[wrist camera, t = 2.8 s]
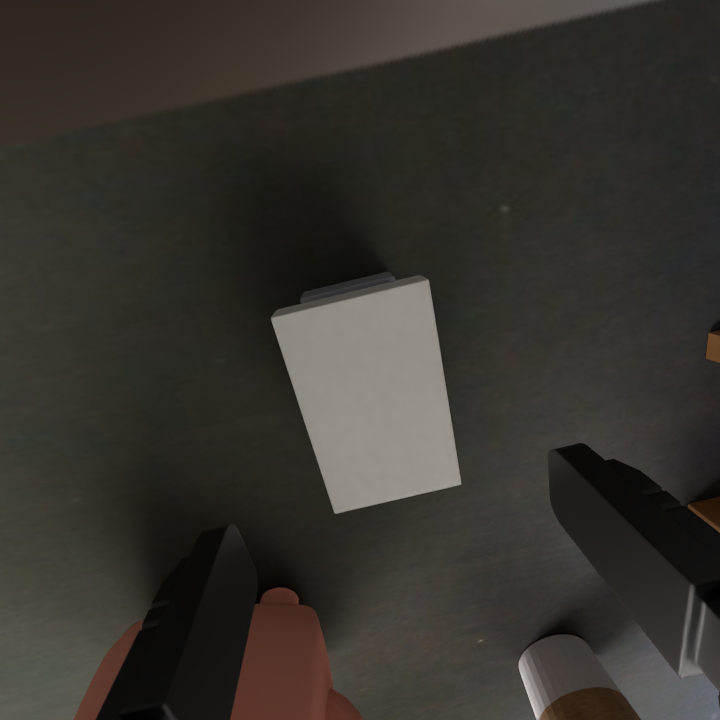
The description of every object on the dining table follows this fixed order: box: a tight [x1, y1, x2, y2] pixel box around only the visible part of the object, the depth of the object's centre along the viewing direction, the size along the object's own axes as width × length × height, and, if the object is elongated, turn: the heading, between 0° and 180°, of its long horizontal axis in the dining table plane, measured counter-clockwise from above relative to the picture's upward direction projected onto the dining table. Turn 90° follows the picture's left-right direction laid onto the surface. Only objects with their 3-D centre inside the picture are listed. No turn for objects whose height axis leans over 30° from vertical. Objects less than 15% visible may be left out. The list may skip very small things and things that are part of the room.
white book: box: [271, 275, 461, 514], centre depth 15 cm, size 9×6×1 cm, turn 13°
